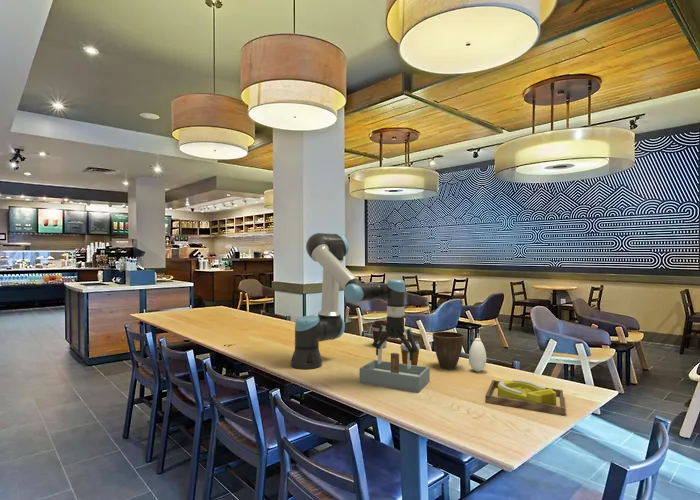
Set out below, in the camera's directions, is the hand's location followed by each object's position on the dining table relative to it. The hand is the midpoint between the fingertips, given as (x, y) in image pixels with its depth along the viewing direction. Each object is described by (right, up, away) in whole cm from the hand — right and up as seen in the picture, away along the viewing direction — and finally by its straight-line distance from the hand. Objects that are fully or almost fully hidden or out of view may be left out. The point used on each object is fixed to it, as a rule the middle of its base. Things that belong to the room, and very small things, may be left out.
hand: (394, 365), depth 173 cm
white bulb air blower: (+41, -8, +17) cm, 45 cm away
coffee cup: (-1, -8, +65) cm, 65 cm away
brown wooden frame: (+48, -7, -19) cm, 52 cm away
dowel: (0, -7, 0) cm, 7 cm away
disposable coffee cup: (+9, -7, +18) cm, 22 cm away
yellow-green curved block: (+48, -7, -19) cm, 52 cm away
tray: (0, -7, 0) cm, 7 cm away
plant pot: (+29, -8, +23) cm, 38 cm away
